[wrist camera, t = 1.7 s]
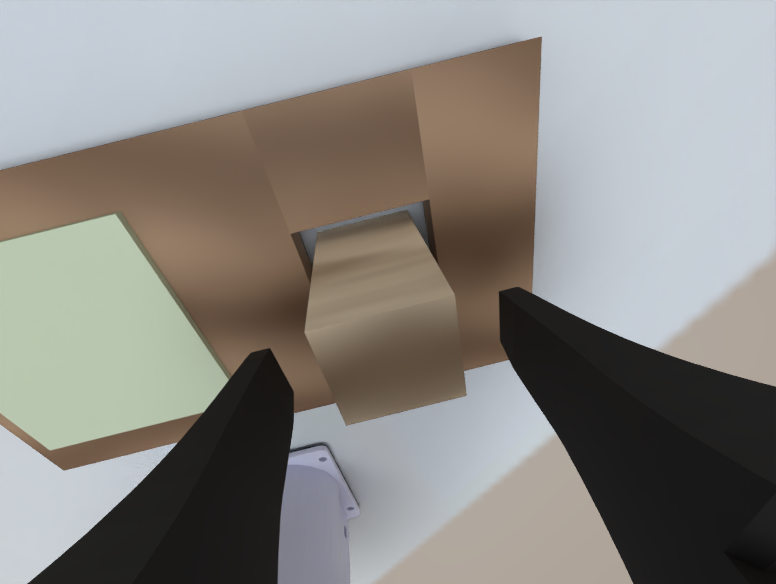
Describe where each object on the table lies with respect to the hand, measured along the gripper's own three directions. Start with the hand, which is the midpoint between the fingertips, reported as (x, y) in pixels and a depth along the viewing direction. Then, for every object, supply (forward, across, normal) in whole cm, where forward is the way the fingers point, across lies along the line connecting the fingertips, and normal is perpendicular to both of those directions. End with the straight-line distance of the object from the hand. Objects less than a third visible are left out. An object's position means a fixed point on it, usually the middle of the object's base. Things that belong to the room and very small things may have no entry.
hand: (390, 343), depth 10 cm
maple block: (+6, 0, 0) cm, 6 cm away
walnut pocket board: (+6, +6, 0) cm, 9 cm away
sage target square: (+4, +13, 0) cm, 14 cm away
